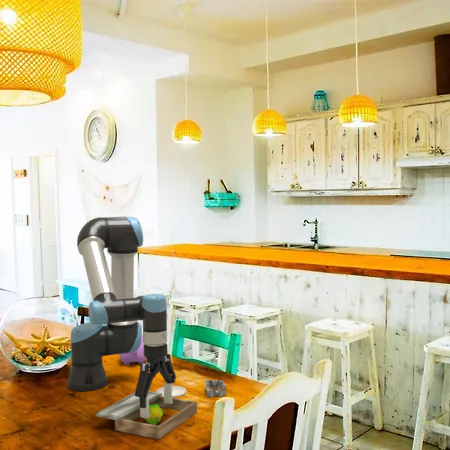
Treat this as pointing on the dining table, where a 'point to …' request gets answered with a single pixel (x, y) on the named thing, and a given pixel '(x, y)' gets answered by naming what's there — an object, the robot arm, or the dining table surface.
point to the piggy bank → (134, 355)
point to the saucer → (174, 391)
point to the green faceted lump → (154, 414)
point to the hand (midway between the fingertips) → (156, 410)
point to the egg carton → (215, 388)
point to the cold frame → (130, 411)
